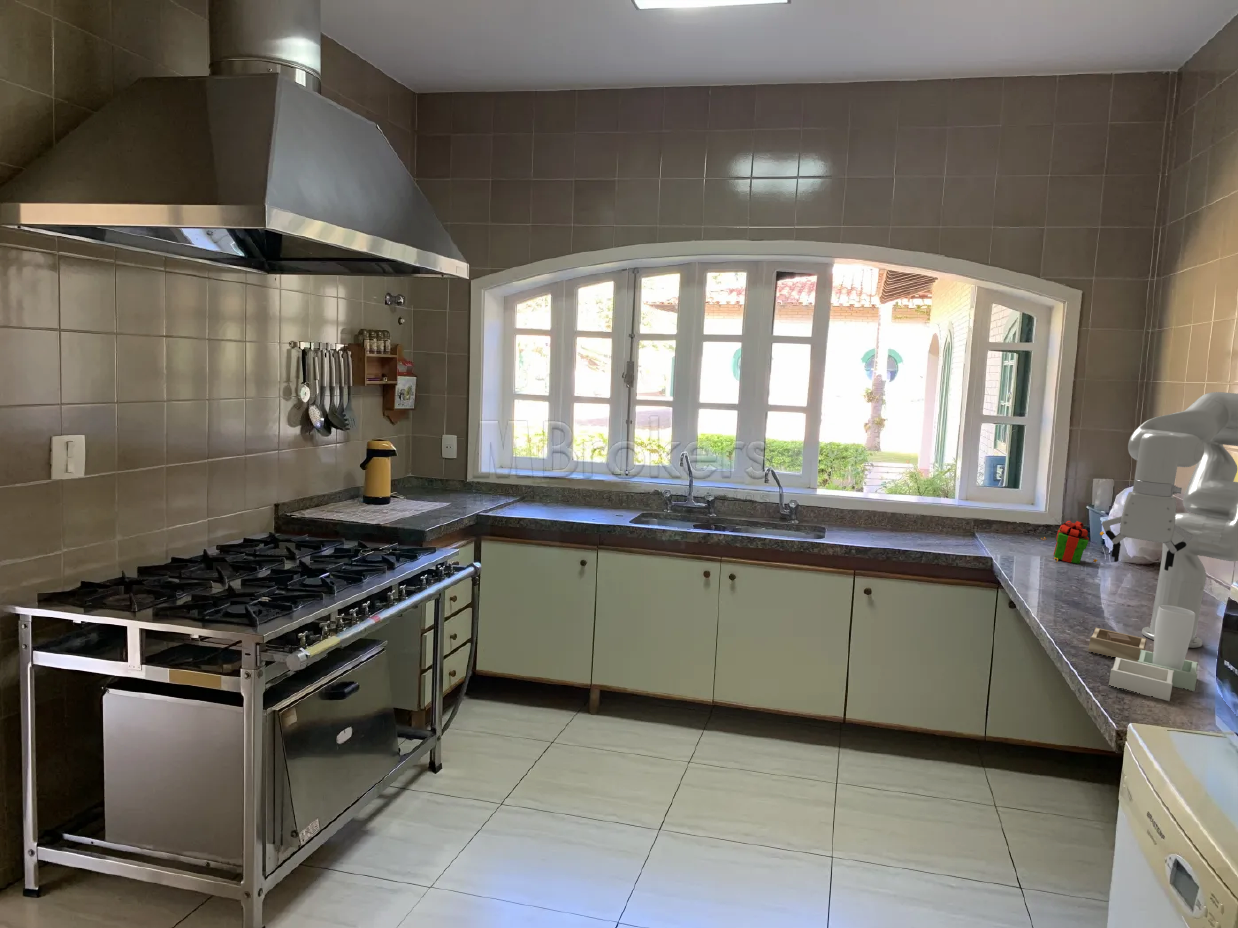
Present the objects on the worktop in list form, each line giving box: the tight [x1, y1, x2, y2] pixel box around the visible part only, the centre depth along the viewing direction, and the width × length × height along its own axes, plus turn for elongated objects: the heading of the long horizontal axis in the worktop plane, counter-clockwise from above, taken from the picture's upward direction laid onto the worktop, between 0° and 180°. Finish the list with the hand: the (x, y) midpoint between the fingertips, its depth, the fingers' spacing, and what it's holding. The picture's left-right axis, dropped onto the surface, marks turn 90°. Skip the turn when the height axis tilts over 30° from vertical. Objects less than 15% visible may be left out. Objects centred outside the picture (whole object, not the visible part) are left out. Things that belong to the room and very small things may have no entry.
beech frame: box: [1087, 627, 1148, 662], centre depth 198 cm, size 10×11×4 cm
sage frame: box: [1138, 649, 1198, 692], centre depth 183 cm, size 10×11×4 cm
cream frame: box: [1108, 657, 1174, 702], centre depth 176 cm, size 10×11×4 cm
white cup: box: [1152, 605, 1195, 670], centre depth 182 cm, size 7×7×15 cm
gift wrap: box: [1040, 520, 1106, 565], centre depth 298 cm, size 20×19×14 cm
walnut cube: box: [1106, 633, 1131, 645], centre depth 198 cm, size 4×4×4 cm
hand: (1140, 564), depth 191 cm, fingers open, 9 cm apart
